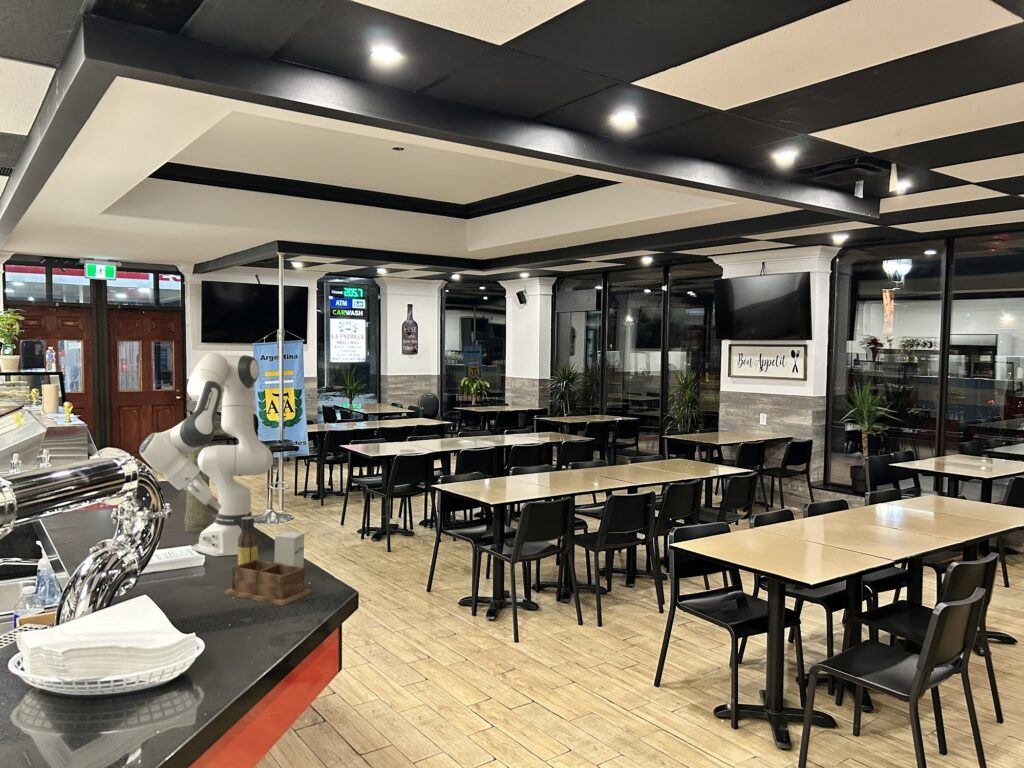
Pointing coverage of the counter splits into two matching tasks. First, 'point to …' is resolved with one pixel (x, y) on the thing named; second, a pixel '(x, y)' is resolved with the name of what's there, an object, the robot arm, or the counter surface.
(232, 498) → the robot arm
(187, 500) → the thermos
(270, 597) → the condiment caddy
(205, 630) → the counter surface
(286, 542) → the supplement box
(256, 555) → the sauce bottle
